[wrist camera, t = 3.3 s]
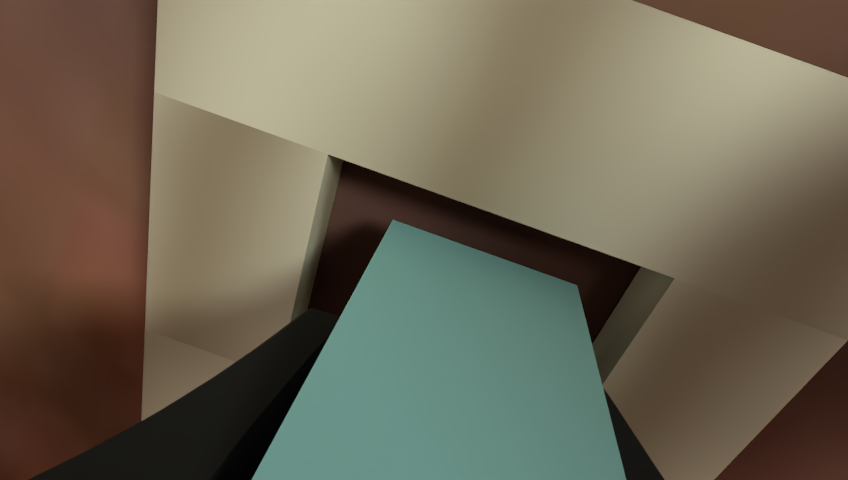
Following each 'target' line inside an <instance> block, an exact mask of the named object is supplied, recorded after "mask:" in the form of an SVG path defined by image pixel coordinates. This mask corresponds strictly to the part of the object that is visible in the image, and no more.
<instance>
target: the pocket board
mask: <svg viewBox="0 0 848 480" xmlns="http://www.w3.org/2000/svg"><path fill="white" fill-rule="evenodd" d="M344 160H345V161H348V162H351V163H354V164H356V165H359V166H362V167H365V168H368V169H370V170H373V171H376V172H379V173H382V174H384V175H387V176H390V177H393V178H396V179H398V180H401V181H404V182H407V183H410V184H412V185H415V186H418V187H421V188H424V189H426V190H429V191H432V192H435V193H438V194H440V195H443V196H446V197H449V198H451V199H454V200H457V201H460V202H463V203H465V204H468V205H471V206H474V207H477V208H479V209H482V210H485V211H488V212H491V213H493V214H496V215H499V216H502V217H505V218H507V219H510V220H513V221H516V222H519V223H521V224H524V225H527V226H530V227H533V228H535V229H538V230H541V231H544V232H546V233H549V234H552V235H555V236H558V237H560V238H563V239H566V240H569V241H572V242H574V243H577V244H580V245H583V246H586V247H588V248H591V249H594V250H597V251H600V252H602V253H605V254H608V255H611V256H614V257H616V258H619V259H622V260H625V261H628V262H630V263H633V264H636V265H639V266H641V268H640V269H639V271H638V272H637V274H636V276H635V277H634V279H633V280H632V282H631V284H630V285H629V287H628V288H627V290H626V291H625V293H624V295H623V296H622V298H621V299H620V301H619V303H618V304H617V306H616V307H615V309H614V311H613V312H612V314H611V315H610V317H609V318H608V320H607V322H606V323H605V325H604V326H603V328H602V330H601V331H600V333H599V334H598V336H597V338H596V339H595V341H594V342H593V344H592V346H593V350H594V354H595V358H596V362H597V366H598V370H599V374H600V378H601V382H602V386H603V388H604V389H605V391H606V392H607V393H608V395H609V396H610V398H611V399H612V401H613V402H614V404H615V405H616V407H617V408H618V410H619V411H620V413H621V414H622V416H623V417H624V419H625V420H626V422H627V424H628V425H629V427H630V428H631V430H632V431H633V433H634V434H635V436H636V437H637V439H638V440H639V442H640V443H641V445H642V446H643V448H644V449H645V451H646V453H647V454H648V456H649V457H650V459H651V460H652V462H653V463H654V465H655V466H656V468H657V469H658V471H659V472H660V474H661V475H662V477H663V478H664V479H665V480H714V479H715V478H716V477H717V476H718V475H719V474H720V473H721V472H722V471H723V470H724V469H725V468H726V467H727V466H728V465H729V464H730V463H731V462H732V461H733V459H734V458H735V457H736V456H737V455H738V454H739V453H740V452H741V451H742V450H743V449H744V448H745V447H746V446H747V445H748V444H749V443H750V442H751V441H752V440H753V439H754V438H755V437H756V436H757V435H758V433H759V432H760V431H761V430H762V429H763V428H764V427H765V426H766V425H767V424H768V423H769V422H770V421H771V420H772V419H773V418H774V417H775V416H776V415H777V414H778V413H779V412H780V411H781V410H782V409H783V407H784V406H785V405H786V404H787V403H788V402H789V401H790V400H791V399H792V398H793V397H794V396H795V395H796V394H797V393H798V392H799V391H800V390H801V389H802V388H803V387H804V386H805V385H806V384H807V382H808V381H809V380H810V379H811V378H812V377H813V376H814V375H815V374H816V373H817V372H818V371H819V370H820V369H821V368H822V367H823V366H824V365H825V364H826V363H827V362H828V361H829V360H830V359H831V358H832V356H833V355H834V354H835V353H836V352H837V351H838V350H839V349H840V348H841V347H842V346H843V345H844V344H845V343H846V342H847V341H848V78H847V77H844V76H842V75H839V74H836V73H833V72H830V71H828V70H825V69H822V68H819V67H816V66H814V65H811V64H808V63H805V62H802V61H800V60H797V59H794V58H791V57H789V56H786V55H783V54H780V53H777V52H775V51H772V50H769V49H766V48H763V47H761V46H758V45H755V44H752V43H750V42H747V41H744V40H741V39H738V38H736V37H733V36H730V35H727V34H724V33H722V32H719V31H716V30H713V29H710V28H708V27H705V26H702V25H699V24H697V23H694V22H691V21H688V20H685V19H683V18H680V17H677V16H674V15H671V14H669V13H666V12H663V11H660V10H657V9H655V8H652V7H649V6H646V5H644V4H641V3H638V2H635V1H632V0H158V9H157V34H156V60H155V85H154V111H153V136H152V161H151V187H150V212H149V238H148V263H147V288H146V314H145V339H144V365H143V390H142V416H141V421H143V420H144V419H146V418H148V417H150V416H151V415H153V414H155V413H156V412H158V411H160V410H162V409H163V408H165V407H166V406H168V405H170V404H171V403H173V402H175V401H176V400H178V399H179V398H181V397H183V396H184V395H186V394H187V393H189V392H191V391H192V390H194V389H195V388H197V387H199V386H200V385H202V384H203V383H205V382H207V381H208V380H210V379H211V378H213V377H214V376H216V375H217V374H219V373H220V372H222V371H223V370H225V369H226V368H228V367H229V366H230V365H232V364H233V363H235V362H236V361H238V360H239V359H241V358H242V357H243V356H245V355H246V354H248V353H249V352H251V351H252V350H254V349H255V348H256V347H258V346H259V345H260V344H262V343H263V342H265V341H266V340H267V339H269V338H270V337H271V336H273V335H274V334H275V333H277V332H278V331H279V330H281V329H282V328H283V327H285V326H286V325H287V324H289V323H290V322H291V321H293V320H294V319H295V318H296V317H298V316H299V315H300V314H302V313H303V312H304V311H306V310H308V305H309V301H310V297H311V293H312V289H313V285H314V281H315V277H316V273H317V268H318V264H319V260H320V256H321V252H322V248H323V244H324V240H325V236H326V231H327V227H328V223H329V219H330V215H331V211H332V207H333V203H334V198H335V194H336V190H337V186H338V182H339V178H340V174H341V170H342V166H343V161H344Z"/></svg>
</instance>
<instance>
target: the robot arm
mask: <svg viewBox="0 0 848 480" xmlns="http://www.w3.org/2000/svg"><path fill="white" fill-rule="evenodd" d="M339 318H340V316H338V315H335V314H331V313H327V312H324V311H320V310H316V309H313V308H310V309H308V310H306V311H304V312H303V313H302V314H300V315H299V316H298V317H296V318H295V319H294V320H293V321H291V322H290V323H289V324H287V325H286V326H285V327H283V328H282V329H281V330H279V331H278V332H277V333H275V334H274V335H273V336H271V337H270V338H269V339H267V340H266V341H265V342H263V343H262V344H260V345H259V346H258V347H256V348H255V349H254V350H252V351H251V352H249V353H248V354H246V355H245V356H243V357H242V358H241V359H239V360H238V361H236V362H235V363H233V364H232V365H230V366H229V367H228V368H226V369H225V370H223V371H222V372H220V373H219V374H217V375H216V376H214V377H213V378H211V379H210V380H208V381H207V382H205V383H203V384H202V385H200V386H199V387H197V388H195V389H194V390H192V391H191V392H189V393H187V394H186V395H184V396H183V397H181V398H179V399H178V400H176V401H175V402H173V403H171V404H170V405H168V406H166V407H165V408H163V409H162V410H160V411H158V412H156V413H155V414H153V415H151V416H150V417H148V418H146V419H144V420H143V421H141V422H139V423H137V424H136V425H134V426H132V427H130V428H128V429H127V430H125V431H123V432H121V433H119V434H118V435H116V436H114V437H112V438H110V439H108V440H106V441H104V442H103V443H101V444H99V445H97V446H95V447H93V448H91V449H89V450H87V451H86V452H84V453H82V454H80V455H78V456H76V457H74V458H72V459H70V460H67V461H65V462H63V463H61V464H59V465H57V466H55V467H53V468H51V469H49V470H47V471H45V472H43V473H41V474H39V475H37V476H35V477H33V478H31V479H29V480H252V478H253V476H254V474H255V472H256V471H257V469H258V467H259V465H260V463H261V461H262V459H263V458H264V456H265V454H266V452H267V450H268V448H269V447H270V445H271V443H272V441H273V439H274V437H275V436H276V434H277V432H278V430H279V428H280V426H281V425H282V423H283V421H284V419H285V417H286V415H287V413H288V412H289V410H290V408H291V406H292V404H293V402H294V401H295V399H296V397H297V395H298V393H299V391H300V390H301V388H302V386H303V384H304V382H305V380H306V379H307V377H308V375H309V373H310V371H311V369H312V367H313V366H314V364H315V362H316V360H317V358H318V356H319V355H320V353H321V351H322V349H323V347H324V345H325V344H326V342H327V340H328V338H329V336H330V334H331V333H332V331H333V329H334V327H335V325H336V323H337V321H338V320H339ZM603 390H604V394H605V398H606V401H607V405H608V409H609V413H610V417H611V421H612V425H613V429H614V433H615V437H616V441H617V445H618V449H619V453H620V457H621V461H622V465H623V469H624V473H625V477H626V480H665V479H664V478H663V477H662V475H661V474H660V472H659V471H658V469H657V468H656V466H655V465H654V463H653V462H652V460H651V459H650V457H649V456H648V454H647V453H646V451H645V449H644V448H643V446H642V445H641V443H640V442H639V440H638V439H637V437H636V436H635V434H634V433H633V431H632V430H631V428H630V427H629V425H628V424H627V422H626V420H625V419H624V417H623V416H622V414H621V413H620V411H619V410H618V408H617V407H616V405H615V404H614V402H613V401H612V399H611V398H610V396H609V395H608V393H607V392H606V391H605V389H604V388H603Z"/></svg>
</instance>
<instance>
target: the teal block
mask: <svg viewBox="0 0 848 480" xmlns="http://www.w3.org/2000/svg"><path fill="white" fill-rule="evenodd" d="M252 480H626V477H625V473H624V469H623V465H622V461H621V457H620V453H619V449H618V445H617V441H616V437H615V433H614V429H613V425H612V421H611V417H610V413H609V409H608V405H607V401H606V398H605V394H604V390H603V386H602V382H601V378H600V374H599V370H598V366H597V362H596V358H595V354H594V350H593V346H592V342H591V338H590V334H589V330H588V326H587V322H586V318H585V314H584V310H583V307H582V303H581V299H580V295H579V291H578V287H577V285H575V284H572V283H570V282H567V281H564V280H561V279H558V278H555V277H553V276H550V275H547V274H544V273H541V272H539V271H536V270H533V269H530V268H527V267H525V266H522V265H519V264H516V263H513V262H511V261H508V260H505V259H502V258H499V257H496V256H494V255H491V254H488V253H485V252H482V251H480V250H477V249H474V248H471V247H468V246H466V245H463V244H460V243H457V242H454V241H451V240H449V239H446V238H443V237H440V236H437V235H435V234H432V233H429V232H426V231H423V230H421V229H418V228H415V227H412V226H409V225H407V224H404V223H401V222H398V221H395V220H392V222H391V224H390V226H389V228H388V230H387V231H386V233H385V235H384V237H383V239H382V241H381V242H380V244H379V246H378V248H377V250H376V252H375V253H374V255H373V257H372V259H371V261H370V263H369V264H368V266H367V268H366V270H365V272H364V274H363V276H362V277H361V279H360V281H359V283H358V285H357V287H356V288H355V290H354V292H353V294H352V296H351V298H350V299H349V301H348V303H347V305H346V307H345V309H344V310H343V312H342V314H341V316H340V318H339V320H338V321H337V323H336V325H335V327H334V329H333V331H332V333H331V334H330V336H329V338H328V340H327V342H326V344H325V345H324V347H323V349H322V351H321V353H320V355H319V356H318V358H317V360H316V362H315V364H314V366H313V367H312V369H311V371H310V373H309V375H308V377H307V379H306V380H305V382H304V384H303V386H302V388H301V390H300V391H299V393H298V395H297V397H296V399H295V401H294V402H293V404H292V406H291V408H290V410H289V412H288V413H287V415H286V417H285V419H284V421H283V423H282V425H281V426H280V428H279V430H278V432H277V434H276V436H275V437H274V439H273V441H272V443H271V445H270V447H269V448H268V450H267V452H266V454H265V456H264V458H263V459H262V461H261V463H260V465H259V467H258V469H257V471H256V472H255V474H254V476H253V478H252Z"/></svg>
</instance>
